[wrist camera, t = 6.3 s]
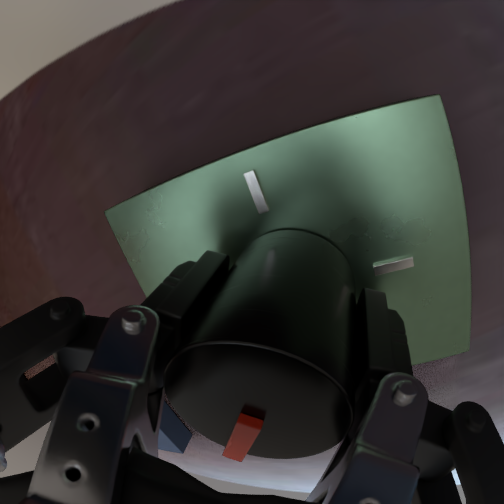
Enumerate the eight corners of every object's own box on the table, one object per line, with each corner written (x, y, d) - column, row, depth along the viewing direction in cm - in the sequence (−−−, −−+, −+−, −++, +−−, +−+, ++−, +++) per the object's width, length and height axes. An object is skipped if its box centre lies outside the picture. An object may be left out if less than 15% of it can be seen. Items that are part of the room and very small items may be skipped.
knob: (248, 211, 10) (158, 317, 5) (375, 254, 10) (395, 396, 5) (223, 313, 12) (156, 429, 7) (328, 348, 12) (307, 481, 7)
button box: (107, 420, 28) (90, 445, 25) (58, 360, 25) (35, 385, 22) (192, 434, 24) (175, 470, 20) (136, 362, 21) (108, 400, 17)
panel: (220, 352, 18) (200, 390, 15) (141, 191, 15) (100, 213, 12) (453, 310, 13) (470, 353, 10) (416, 97, 10) (441, 93, 7)
